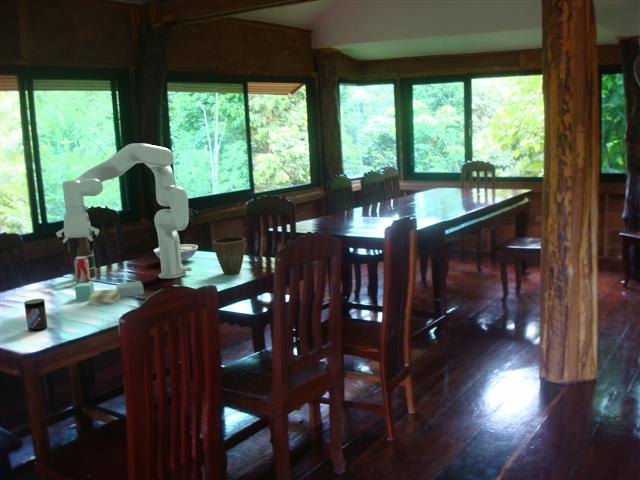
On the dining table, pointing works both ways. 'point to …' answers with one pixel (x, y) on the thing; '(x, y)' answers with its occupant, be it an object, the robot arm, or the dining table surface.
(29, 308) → the supplement container
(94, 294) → the tan flat lump
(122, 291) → the slate block
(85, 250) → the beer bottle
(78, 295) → the teal cube
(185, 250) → the ramen bowl
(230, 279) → the dining table surface
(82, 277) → the beverage can
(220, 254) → the plant pot
